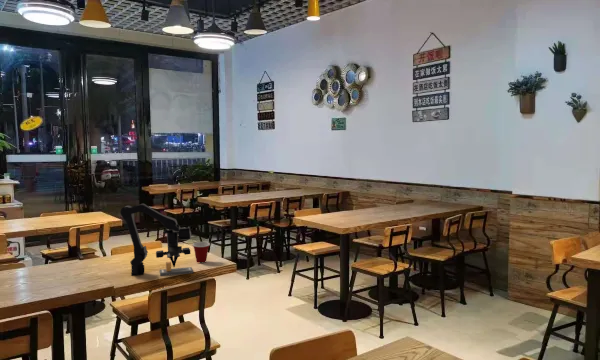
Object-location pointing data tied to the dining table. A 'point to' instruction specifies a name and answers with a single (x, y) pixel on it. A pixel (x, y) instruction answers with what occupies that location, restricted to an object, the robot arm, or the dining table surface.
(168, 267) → the handle
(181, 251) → the robot arm
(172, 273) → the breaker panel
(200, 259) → the plastic cup
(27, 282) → the dining table surface
